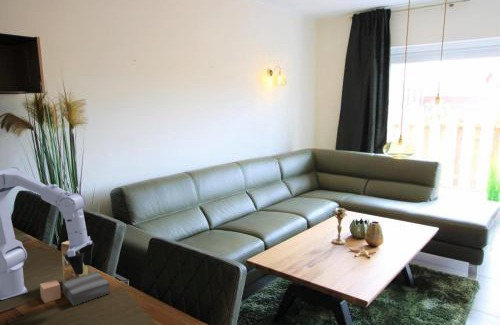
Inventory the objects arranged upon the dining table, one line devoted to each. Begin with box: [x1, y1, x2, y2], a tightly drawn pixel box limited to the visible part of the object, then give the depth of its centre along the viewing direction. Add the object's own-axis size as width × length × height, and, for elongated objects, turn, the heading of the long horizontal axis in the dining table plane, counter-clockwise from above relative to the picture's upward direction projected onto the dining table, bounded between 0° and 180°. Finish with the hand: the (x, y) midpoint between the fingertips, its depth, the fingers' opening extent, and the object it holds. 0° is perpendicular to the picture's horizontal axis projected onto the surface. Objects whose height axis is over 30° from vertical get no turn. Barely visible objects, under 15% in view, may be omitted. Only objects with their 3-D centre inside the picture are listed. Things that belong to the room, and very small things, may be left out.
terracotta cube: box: [39, 279, 62, 304], centre depth 123 cm, size 5×5×5 cm
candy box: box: [60, 240, 89, 282], centre depth 133 cm, size 9×4×15 cm, turn 66°
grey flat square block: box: [61, 271, 111, 307], centre depth 126 cm, size 12×12×4 cm
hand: (83, 269), depth 121 cm, fingers open, 7 cm apart
